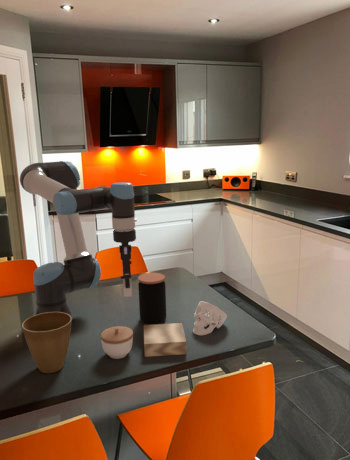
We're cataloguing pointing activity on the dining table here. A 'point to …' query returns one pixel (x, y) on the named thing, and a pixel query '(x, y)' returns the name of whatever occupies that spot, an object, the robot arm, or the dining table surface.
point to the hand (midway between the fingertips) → (127, 289)
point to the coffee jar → (152, 298)
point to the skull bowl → (207, 318)
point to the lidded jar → (117, 341)
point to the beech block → (164, 339)
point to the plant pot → (48, 339)
